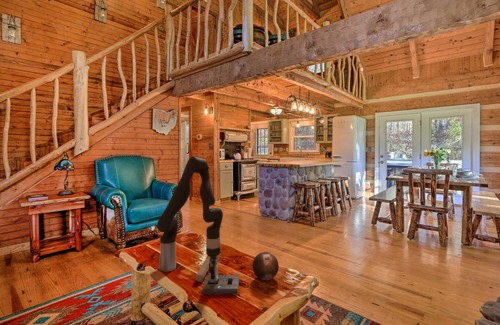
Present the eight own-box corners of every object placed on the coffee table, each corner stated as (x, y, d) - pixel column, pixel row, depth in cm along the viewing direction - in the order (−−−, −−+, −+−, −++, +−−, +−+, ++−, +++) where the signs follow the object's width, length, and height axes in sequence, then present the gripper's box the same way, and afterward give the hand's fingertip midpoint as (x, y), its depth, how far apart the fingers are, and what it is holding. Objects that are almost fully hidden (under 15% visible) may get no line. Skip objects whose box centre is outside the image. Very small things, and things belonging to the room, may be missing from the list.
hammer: (201, 267, 138) (218, 237, 166) (193, 266, 138) (211, 236, 167) (204, 291, 142) (220, 257, 170) (196, 290, 143) (213, 257, 171)
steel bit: (209, 282, 134) (209, 267, 133) (210, 278, 138) (210, 264, 137) (216, 282, 134) (216, 267, 133) (217, 278, 137) (217, 264, 137)
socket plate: (202, 294, 129) (202, 288, 128) (207, 280, 143) (207, 274, 142) (237, 294, 128) (237, 288, 128) (239, 280, 142) (239, 275, 142)
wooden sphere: (259, 288, 134) (259, 260, 134) (248, 275, 148) (248, 250, 147) (283, 282, 140) (283, 255, 140) (270, 270, 154) (270, 246, 153)
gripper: (208, 240, 142) (208, 270, 143) (203, 250, 128) (204, 283, 128) (221, 240, 142) (222, 270, 142) (218, 250, 127) (218, 283, 128)
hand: (213, 276), depth 135 cm, fingers closed on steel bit, 4 cm apart
